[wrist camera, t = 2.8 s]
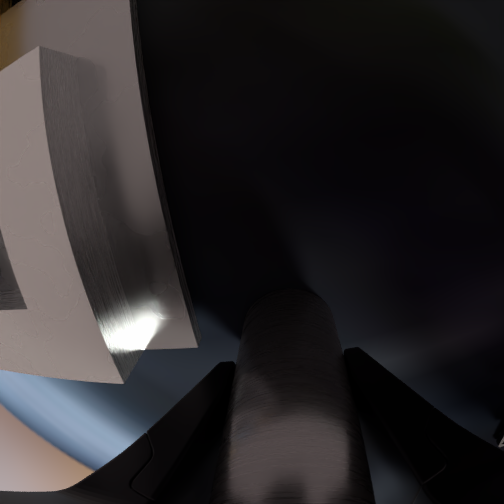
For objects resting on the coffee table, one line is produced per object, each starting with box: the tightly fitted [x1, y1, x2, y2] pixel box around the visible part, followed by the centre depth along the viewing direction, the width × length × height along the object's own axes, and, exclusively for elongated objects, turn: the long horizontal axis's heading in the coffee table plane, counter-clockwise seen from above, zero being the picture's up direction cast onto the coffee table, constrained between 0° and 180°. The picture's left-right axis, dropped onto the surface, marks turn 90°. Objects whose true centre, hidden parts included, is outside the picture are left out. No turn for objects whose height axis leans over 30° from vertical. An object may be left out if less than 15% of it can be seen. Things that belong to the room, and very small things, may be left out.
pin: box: [209, 288, 376, 504], centre depth 6 cm, size 4×4×9 cm
